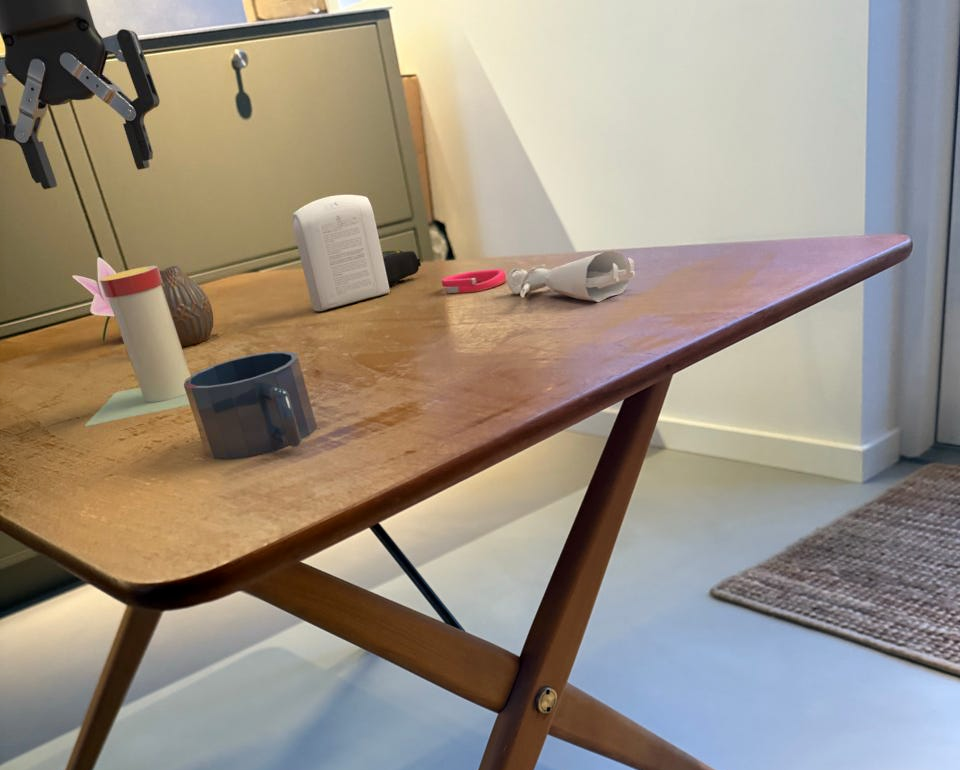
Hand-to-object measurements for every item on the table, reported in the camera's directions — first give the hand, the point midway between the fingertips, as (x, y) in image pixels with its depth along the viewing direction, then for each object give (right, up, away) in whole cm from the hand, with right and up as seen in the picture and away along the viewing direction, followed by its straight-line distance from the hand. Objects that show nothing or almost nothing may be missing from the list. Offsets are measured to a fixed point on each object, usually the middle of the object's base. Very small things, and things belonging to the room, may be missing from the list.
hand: (96, 178), depth 91 cm
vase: (-1, -5, +34) cm, 35 cm away
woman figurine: (+43, -5, +17) cm, 47 cm away
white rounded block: (+18, +1, +38) cm, 42 cm away
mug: (+18, -26, -11) cm, 33 cm away
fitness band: (+33, +1, +32) cm, 46 cm away
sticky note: (+4, -17, +10) cm, 20 cm away
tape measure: (+23, +6, +44) cm, 50 cm away
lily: (-13, -1, +46) cm, 48 cm away
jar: (+4, -17, +9) cm, 20 cm away
